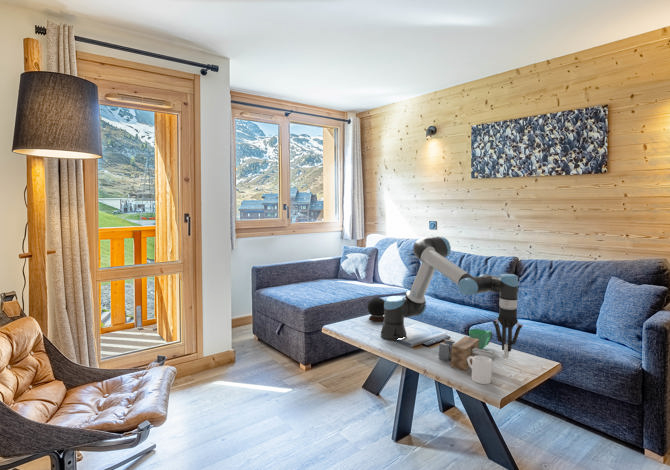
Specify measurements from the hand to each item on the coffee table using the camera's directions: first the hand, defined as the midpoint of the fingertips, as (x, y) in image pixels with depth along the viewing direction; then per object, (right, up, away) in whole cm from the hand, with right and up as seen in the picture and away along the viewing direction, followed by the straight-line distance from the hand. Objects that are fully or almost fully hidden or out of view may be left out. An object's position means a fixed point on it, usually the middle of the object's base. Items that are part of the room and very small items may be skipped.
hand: (506, 357), depth 182 cm
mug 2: (-15, -8, -5) cm, 18 cm away
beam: (-15, -7, +13) cm, 21 cm away
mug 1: (0, -5, +31) cm, 32 cm away
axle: (-12, -2, +10) cm, 16 cm away
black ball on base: (-51, -1, +84) cm, 99 cm away
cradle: (-22, -6, +18) cm, 30 cm away
